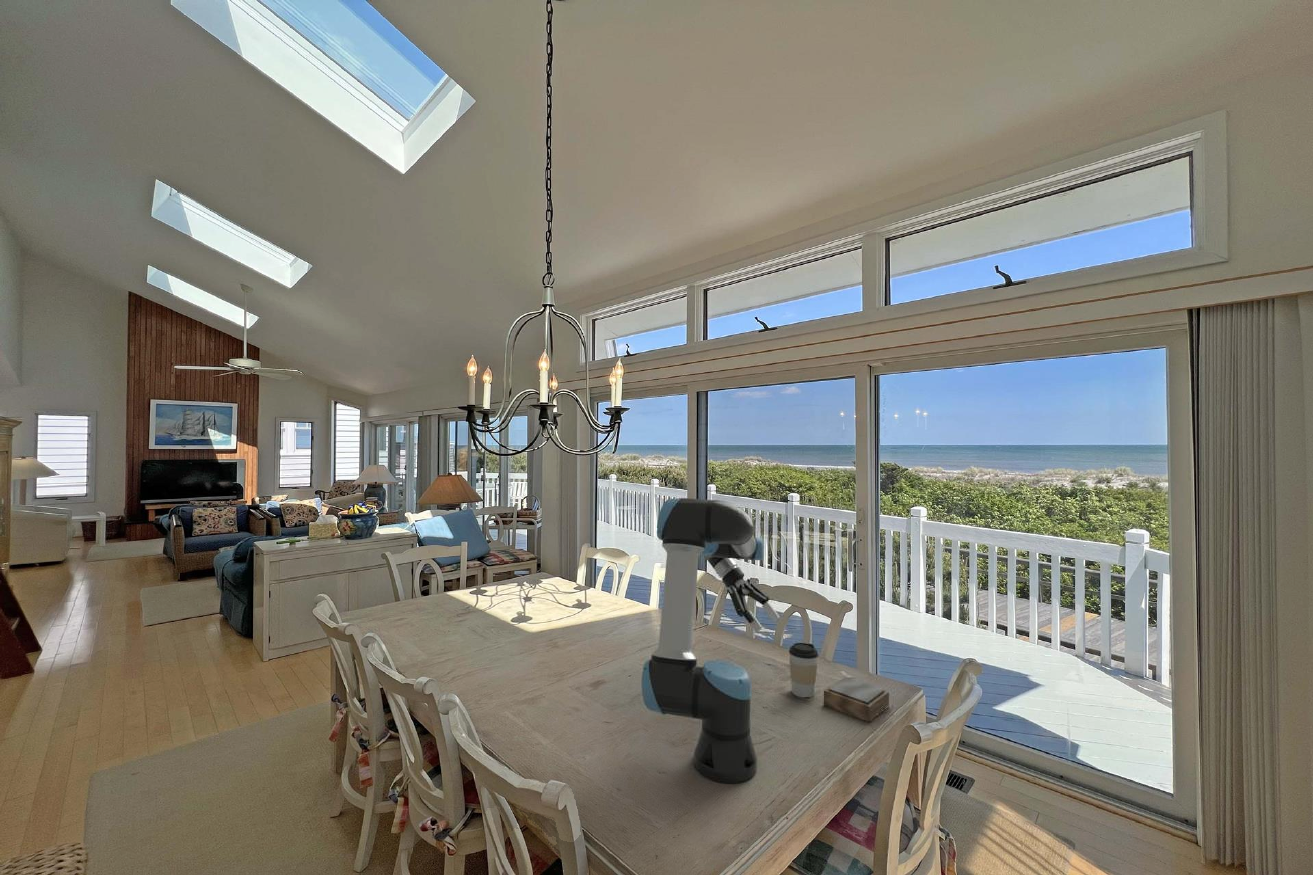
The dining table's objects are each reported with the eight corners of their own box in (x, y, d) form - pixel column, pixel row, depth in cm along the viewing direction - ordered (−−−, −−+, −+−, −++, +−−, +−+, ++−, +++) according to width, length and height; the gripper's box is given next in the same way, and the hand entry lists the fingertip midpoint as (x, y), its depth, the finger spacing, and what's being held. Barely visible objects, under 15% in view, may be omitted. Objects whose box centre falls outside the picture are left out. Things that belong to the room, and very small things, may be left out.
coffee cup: (797, 700, 164) (798, 651, 164) (782, 687, 173) (783, 641, 173) (823, 697, 166) (824, 649, 167) (807, 685, 175) (808, 639, 175)
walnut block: (888, 706, 162) (889, 689, 162) (869, 722, 152) (869, 704, 152) (844, 690, 171) (844, 675, 172) (823, 704, 162) (823, 688, 162)
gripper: (739, 572, 198) (776, 621, 189) (704, 585, 178) (743, 641, 169) (752, 560, 195) (790, 609, 186) (718, 572, 175) (759, 628, 166)
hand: (768, 624), depth 177 cm, fingers open, 13 cm apart
